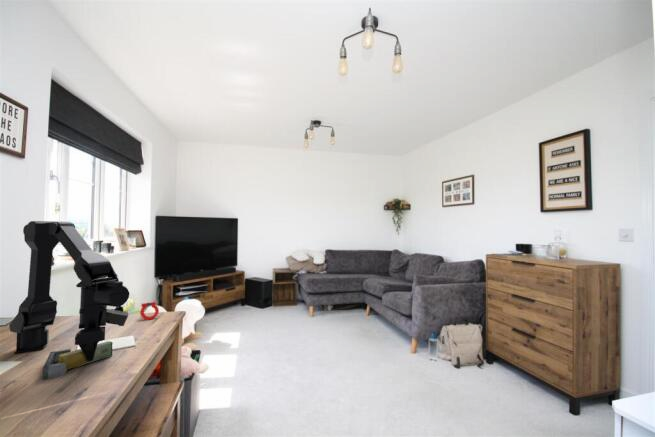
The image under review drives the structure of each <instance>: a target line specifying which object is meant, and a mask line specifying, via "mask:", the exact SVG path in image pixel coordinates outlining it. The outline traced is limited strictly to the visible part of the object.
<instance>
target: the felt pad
mask: <svg viewBox="0 0 655 437" xmlns="http://www.w3.org/2000/svg"><path fill="white" fill-rule="evenodd" d="M107 341H110V342H113V344H112V351H118V350H123V349H127V348H132V347H136V341H135V336H134V335H128V336H123V337H116V338H111V339H105V340H103V341H99V342H98V344H100V343H104V342H107ZM79 349H81V348H80V346H79V345H77V348H76V350H79Z"/></svg>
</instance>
